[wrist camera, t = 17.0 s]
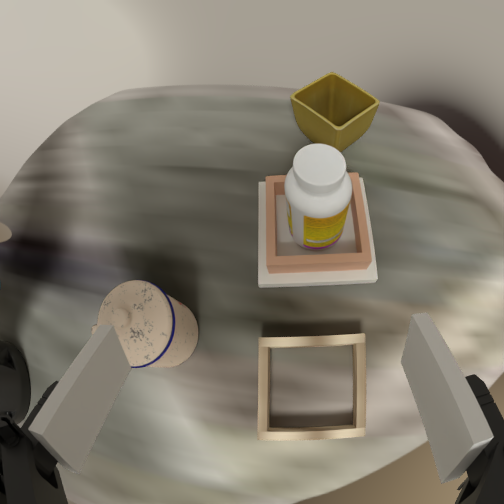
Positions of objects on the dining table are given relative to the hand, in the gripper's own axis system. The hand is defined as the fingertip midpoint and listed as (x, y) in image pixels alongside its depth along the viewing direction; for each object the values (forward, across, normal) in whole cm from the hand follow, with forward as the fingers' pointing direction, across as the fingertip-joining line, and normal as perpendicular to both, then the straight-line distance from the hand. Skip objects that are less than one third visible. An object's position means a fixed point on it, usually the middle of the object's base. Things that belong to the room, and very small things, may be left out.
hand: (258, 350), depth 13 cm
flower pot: (+38, +9, +5) cm, 39 cm away
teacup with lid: (+19, -15, -14) cm, 28 cm away
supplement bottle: (+26, +5, -4) cm, 27 cm away
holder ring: (+14, +3, -18) cm, 23 cm away
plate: (+27, +5, -5) cm, 28 cm away
